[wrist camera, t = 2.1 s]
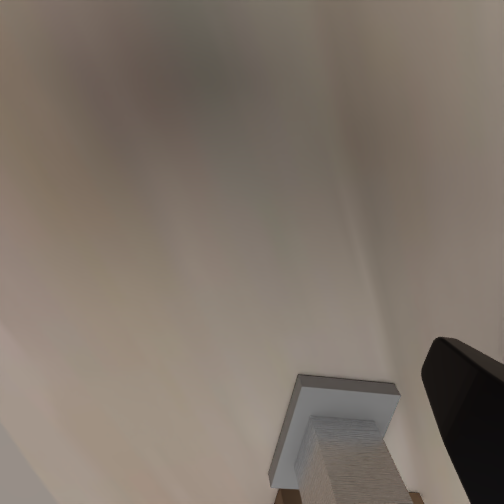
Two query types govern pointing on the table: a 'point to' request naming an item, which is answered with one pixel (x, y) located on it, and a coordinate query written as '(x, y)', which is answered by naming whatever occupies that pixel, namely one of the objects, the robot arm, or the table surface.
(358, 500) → the block
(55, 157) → the table surface
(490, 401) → the robot arm
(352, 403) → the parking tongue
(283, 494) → the board
